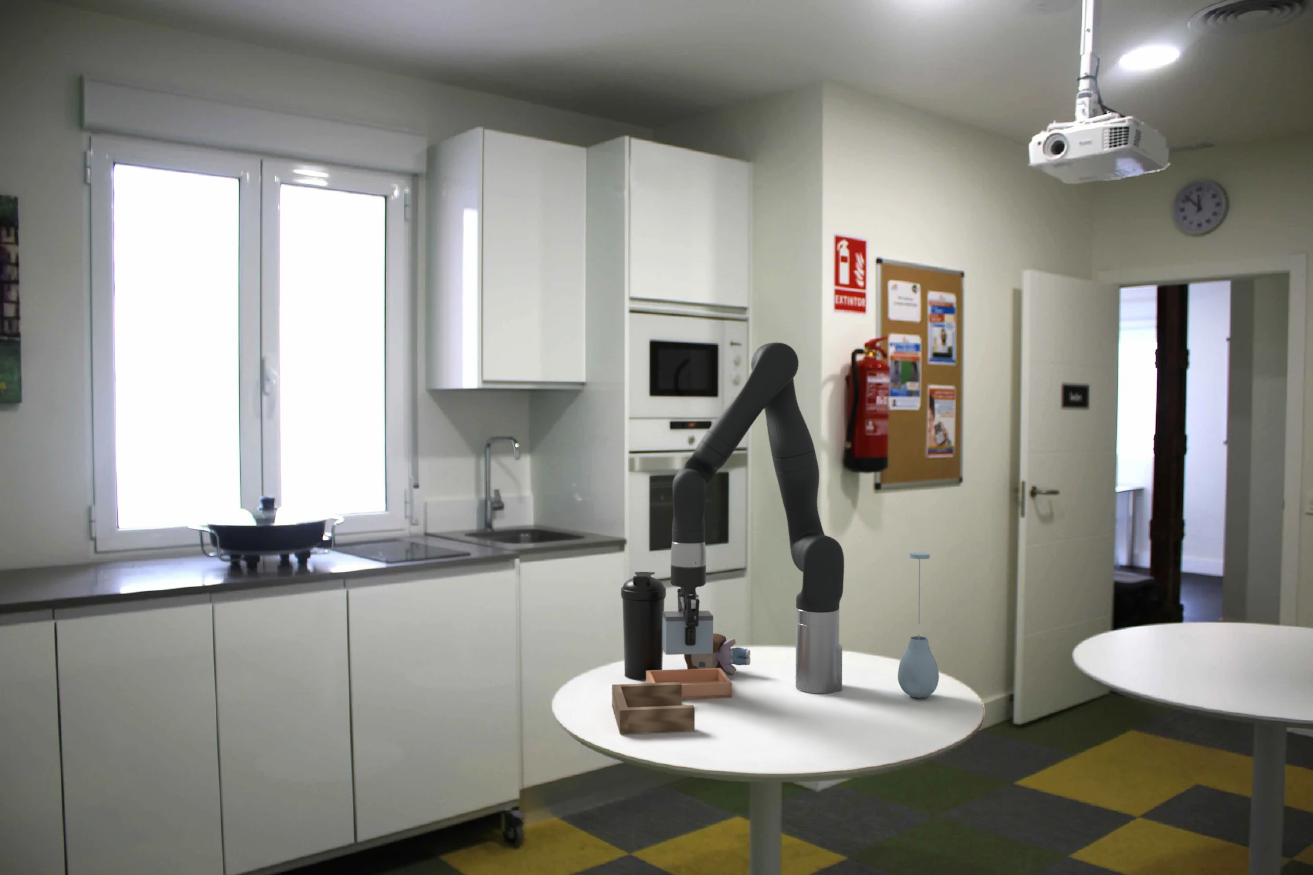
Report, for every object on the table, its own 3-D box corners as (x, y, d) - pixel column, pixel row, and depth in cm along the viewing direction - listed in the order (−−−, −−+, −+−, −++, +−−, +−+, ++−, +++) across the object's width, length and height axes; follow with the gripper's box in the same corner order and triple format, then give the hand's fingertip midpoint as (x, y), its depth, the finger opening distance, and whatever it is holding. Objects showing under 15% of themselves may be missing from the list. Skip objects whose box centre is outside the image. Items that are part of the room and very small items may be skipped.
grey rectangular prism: (708, 647, 211) (708, 610, 210) (712, 653, 205) (713, 615, 205) (662, 648, 209) (662, 611, 209) (666, 654, 204) (666, 616, 204)
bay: (680, 703, 198) (680, 682, 198) (694, 730, 181) (694, 707, 181) (612, 706, 197) (612, 684, 196) (619, 734, 179) (619, 710, 179)
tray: (720, 681, 215) (720, 667, 215) (731, 697, 203) (731, 683, 203) (646, 684, 212) (646, 670, 212) (652, 700, 200) (652, 685, 200)
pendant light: (915, 704, 198) (916, 557, 197) (889, 693, 205) (890, 552, 204) (946, 699, 201) (948, 555, 200) (920, 689, 209) (921, 550, 208)
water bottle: (667, 669, 224) (667, 570, 224) (663, 681, 214) (663, 577, 214) (624, 668, 225) (624, 569, 225) (618, 680, 215) (618, 577, 215)
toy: (746, 679, 216) (681, 675, 220) (753, 670, 224) (691, 666, 228) (745, 640, 216) (680, 637, 220) (753, 632, 224) (690, 629, 228)
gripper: (712, 567, 200) (711, 649, 201) (699, 557, 214) (699, 633, 215) (676, 568, 199) (675, 650, 200) (666, 558, 213) (665, 634, 214)
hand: (687, 641), depth 207 cm, fingers closed on grey rectangular prism, 5 cm apart
